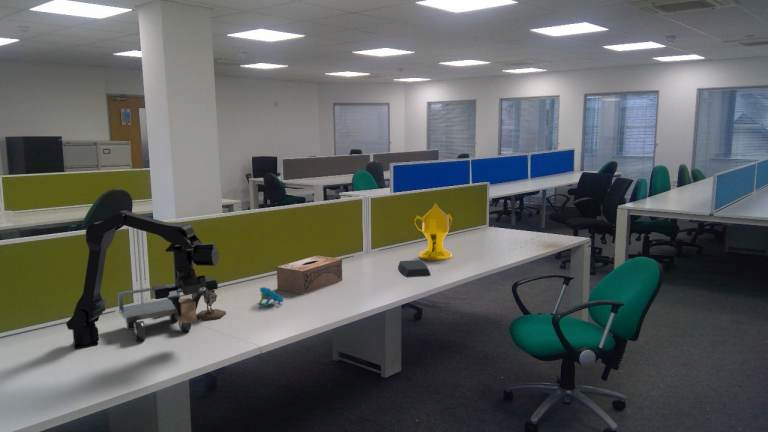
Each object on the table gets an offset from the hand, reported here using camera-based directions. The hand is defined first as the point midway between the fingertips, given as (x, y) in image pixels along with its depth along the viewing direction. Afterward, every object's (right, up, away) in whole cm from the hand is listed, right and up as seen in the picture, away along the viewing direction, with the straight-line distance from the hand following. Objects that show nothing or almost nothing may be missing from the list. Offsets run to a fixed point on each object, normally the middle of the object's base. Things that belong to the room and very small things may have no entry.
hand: (186, 314), depth 174 cm
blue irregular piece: (+17, -4, +44) cm, 47 cm away
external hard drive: (+75, +4, +93) cm, 119 cm away
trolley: (-15, -8, +16) cm, 24 cm away
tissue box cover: (+29, 0, +71) cm, 77 cm away
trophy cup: (+87, +9, +125) cm, 152 cm away
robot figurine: (-2, -6, +30) cm, 31 cm away
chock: (0, -2, 0) cm, 2 cm away
